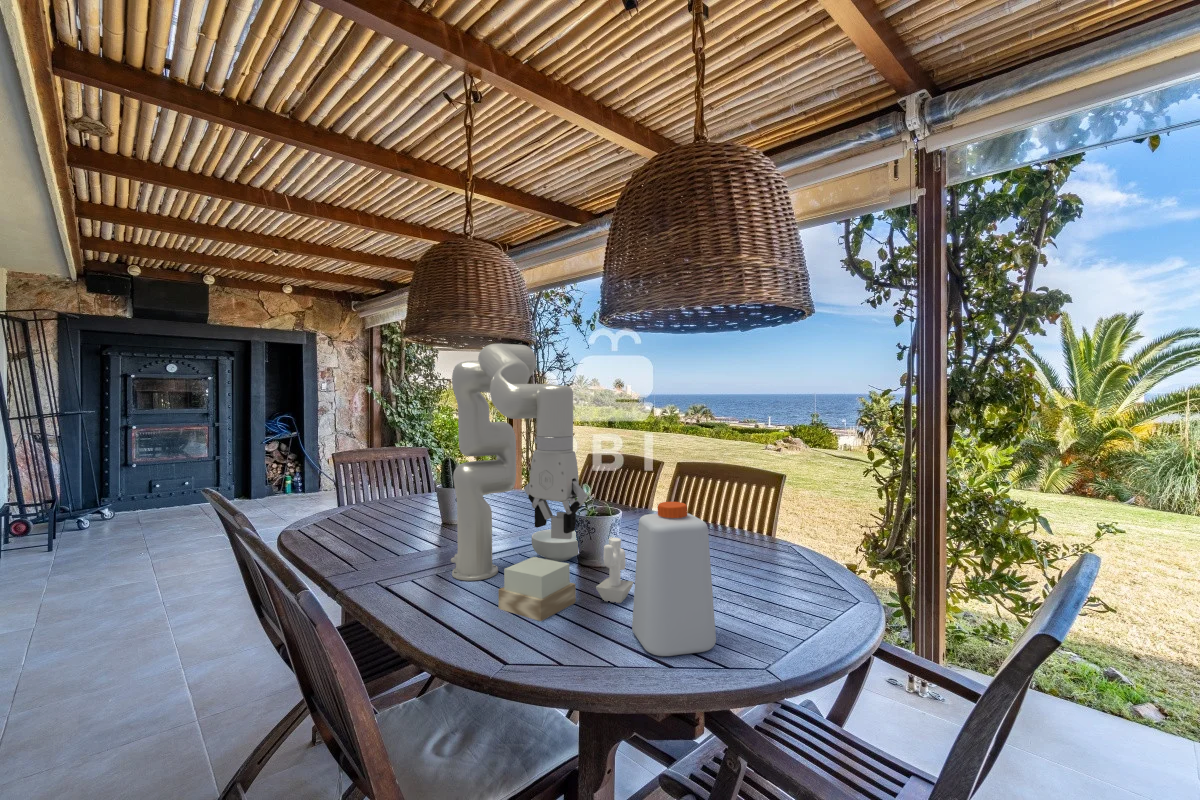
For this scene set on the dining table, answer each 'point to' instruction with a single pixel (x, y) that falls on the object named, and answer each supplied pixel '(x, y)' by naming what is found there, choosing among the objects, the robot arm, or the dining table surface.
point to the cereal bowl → (554, 546)
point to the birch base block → (537, 602)
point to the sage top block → (536, 577)
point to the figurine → (614, 573)
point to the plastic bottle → (673, 583)
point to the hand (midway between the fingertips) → (554, 528)
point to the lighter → (554, 521)
